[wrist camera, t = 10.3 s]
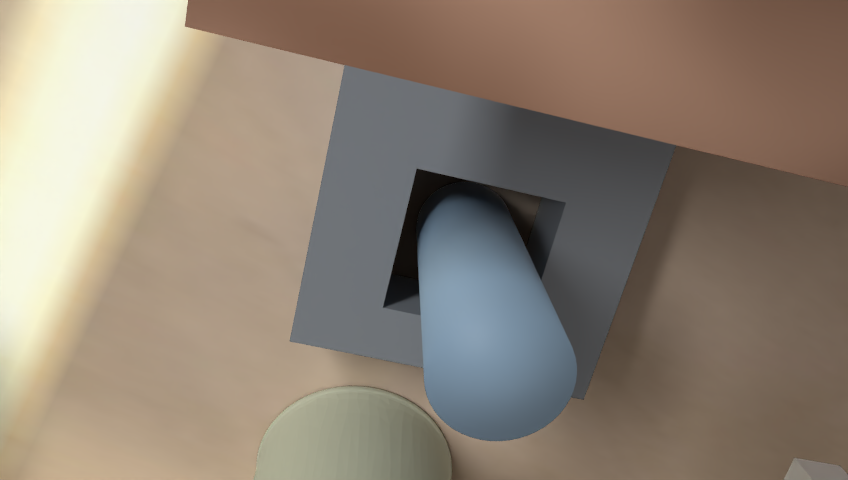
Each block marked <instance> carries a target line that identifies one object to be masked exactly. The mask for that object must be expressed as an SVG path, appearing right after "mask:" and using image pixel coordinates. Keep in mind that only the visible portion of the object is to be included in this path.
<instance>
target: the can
mask: <svg viewBox="0 0 848 480" xmlns="http://www.w3.org/2000/svg"><path fill="white" fill-rule="evenodd" d="M451 476H452V462H451V456H450V451H449V448H448V445H447V442H446V440H445V438H444V436H443V434H442V432H441V431H440V429H439V428H438V426H437V425H436V423H435V422H434V421H433V420H432V419H431V417H430V416H429V415H427V414H426V413H425V412H424V411H423V410H422V409H421V408H419V407H418V406H417V405H415V404H414V403H412V402H410V401H409V400H407V399H405V398H403V397H401V396H399V395H397V394H394V393H391V392H388V391H385V390H382V389H377V388H372V387H365V386H342V387H335V388H329V389H325V390H322V391H318V392H315V393H313V394H310V395H308V396H306V397H303V398H301V399H300V400H298V401H296V402H295V403H293V404H292V405H290V406H289V407H288V408H286V409H285V410H284V411H283V412H282V413H281V414H280V415H279V416H278V417H277V418H276V419H275V420H274V421H273V422H272V424H271V425H270V427H269V428H268V429H267V431H266V433H265V435H264V437H263V439H262V442H261V444H260V447H259V451H258V455H257V464H256V472H255V476H254V480H451Z"/></svg>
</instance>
